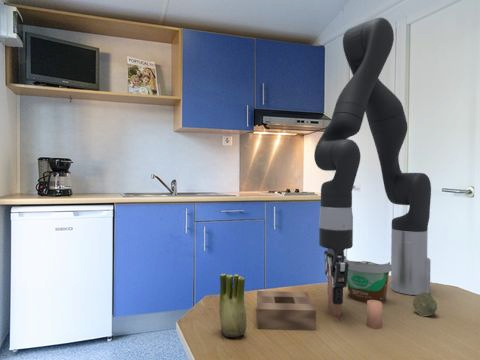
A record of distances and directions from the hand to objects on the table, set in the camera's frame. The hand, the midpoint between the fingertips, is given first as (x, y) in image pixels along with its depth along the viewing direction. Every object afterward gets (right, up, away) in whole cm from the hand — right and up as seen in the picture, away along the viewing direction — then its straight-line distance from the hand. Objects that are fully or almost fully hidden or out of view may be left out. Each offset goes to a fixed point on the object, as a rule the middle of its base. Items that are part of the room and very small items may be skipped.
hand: (335, 299), depth 82 cm
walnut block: (-12, -3, -3) cm, 13 cm away
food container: (+10, -4, +10) cm, 15 cm away
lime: (+21, -4, 0) cm, 21 cm away
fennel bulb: (-23, -3, -11) cm, 26 cm away
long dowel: (0, -3, 0) cm, 3 cm away
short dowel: (+7, -3, -6) cm, 10 cm away
